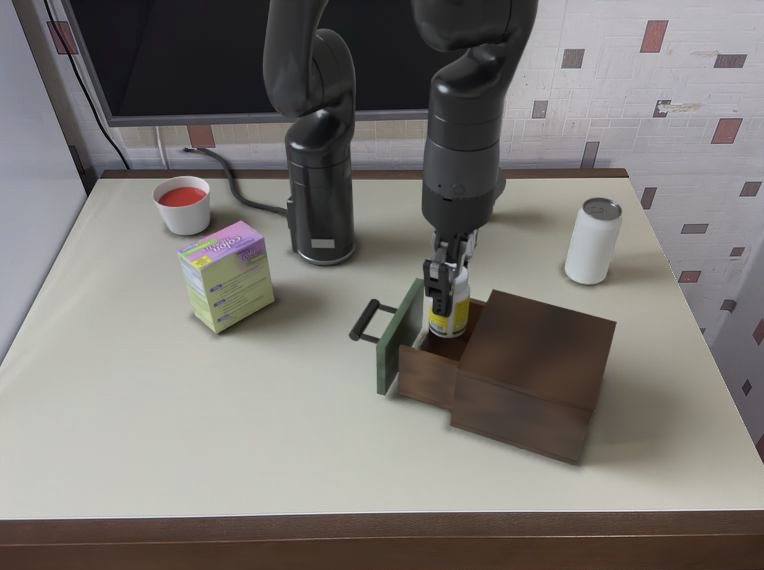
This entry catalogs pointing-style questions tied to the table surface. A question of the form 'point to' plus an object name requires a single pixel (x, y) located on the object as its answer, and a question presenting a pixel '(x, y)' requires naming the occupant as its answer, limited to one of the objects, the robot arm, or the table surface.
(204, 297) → the box
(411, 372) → the drawer
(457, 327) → the supplement bottle
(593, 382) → the cabinet
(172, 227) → the candle
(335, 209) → the robot arm
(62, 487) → the table surface
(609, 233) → the can
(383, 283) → the table surface
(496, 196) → the light bulb
